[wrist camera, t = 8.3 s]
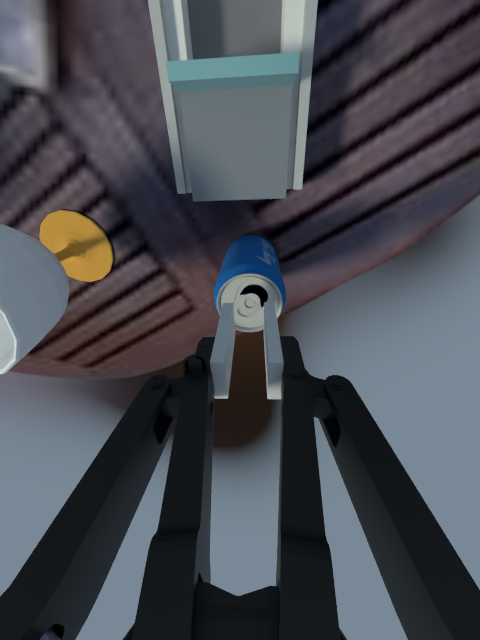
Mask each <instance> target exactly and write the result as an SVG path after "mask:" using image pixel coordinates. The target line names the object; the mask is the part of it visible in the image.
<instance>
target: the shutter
mask: <svg viewBox="0 0 480 640" xmlns="http://www.w3.org/2000/svg"><path fill="white" fill-rule="evenodd" d="M298 62H299V52H293V53H279V54H265V55H251V56H237V57H223V58H209V59H195V60H181V61H167V62H166V67H167V74H168V81H169V82H170V83H171V84H172V85H173V86H174V87H175V88H176V89H177V90H178V91H179V93H180V101H181V109H182V117H183V125H184V133H185V141H186V149H187V157H188V165H189V173H190V181H191V189H192V197H193V202H195V201H223V200H250V199H278V198H286V186H287V168H288V150H289V132H290V113H291V95H292V84H293V82H294V80H295V78H296V76H297V74H298Z"/></svg>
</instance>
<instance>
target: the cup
mask: <svg viewBox="0 0 480 640" xmlns="http://www.w3.org/2000/svg"><path fill="white" fill-rule="evenodd" d="M40 240H41V242H40V241H39V240H37V239H35V238H33V237H31V236H29V235H27V234H24V233H22V232H20V231H18V230H16V229H13V228H11V227H8V226H6V225H3V224H0V374H3V373H6V372H7V371H8V370H9V369H11V368H12V367H13V366H14V365H15V364H16V363H17V362H18V361H19V360H21V359H22V358H23V357H24V356H25V355H26V354H27V353H28V352H29V351H30V350H31V349H32V348H33V347H34V346H35V345H37V344H38V343H39V342H40V341H41V340H42V339H43V337H44V336H45V335H46V334H47V333H48V332H49V331H50V330H51V329H52V328H53V327H54V326H55V325H56V323H57V322H58V321H59V320H60V318H61V317H62V315H63V313H64V312H65V310H66V307H67V302H68V296H69V282H68V279H67V275H68V276H70V277H72V278H75V279H77V280H81V281H89V282H92V281H96V280H100V279H103V278H104V277H105V276H106V275H107V274H108V273H109V272H110V271H111V268H112V264H113V260H114V258H113V252H112V246H111V244H110V242H109V240H108V238H107V237H106V235H105V233H104V231H103V230H102V229H100V228H99V227H98V226H97V225H96V224H95V223H94V222H93V221H92V220H91V219H89V218H87V217H85V216H84V215H82V214H80V213H78V212H74V211H67V210H59V211H56V212H53V213H50V214H48V215H47V216H46V218H45V219H44V220H43V222H42V223H41V227H40Z"/></svg>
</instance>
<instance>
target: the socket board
mask: <svg viewBox="0 0 480 640" xmlns="http://www.w3.org/2000/svg"><path fill="white" fill-rule="evenodd" d="M148 3H149V10H150V16H151V23H152V29H153V36H154V42H155V49H156V55H157V62H158V69H159V75H160V82H161V88H162V95H163V101H164V108H165V114H166V121H167V127H168V134H169V140H170V147H171V154H172V160H173V167H174V173H175V180H176V186H177V193H178V194H186V193H192V189H191V181H190V173H189V165H188V157H187V149H186V141H185V133H184V125H183V117H182V109H181V101H180V93H179V91H178V90H177V89H176V88H175V87H174V86H173V85H172V84H171V83H170V82H169V81H168V74H167V67H166V62H167V61H181V60H195V59H209V58H223V57H237V56H251V55H265V54H279V53H293V52H299V62H298V74H297V76H296V78H295V80H294V82H293V84H292V95H291V113H290V132H289V150H288V168H287V186H286V189H302V182H303V170H304V158H305V146H306V135H307V123H308V111H309V99H310V87H311V75H312V63H313V51H314V40H315V28H316V16H317V4H318V0H148Z"/></svg>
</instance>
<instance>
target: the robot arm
mask: <svg viewBox="0 0 480 640" xmlns="http://www.w3.org/2000/svg"><path fill="white" fill-rule="evenodd" d="M234 339H235V321H234V305H233V303H223V306H222V310H221V315H220V319H219V324H218V328H217V332H216V337H203V338H202V339H201V340H200V341H199V343H198V346H197V350H196V353H195V355H191V356H189V357H187V358H186V359H184V361H183V363H182V366H183V370H184V374H185V375H184V376H182V377H180V378H176V379H172V380H169V378H168V377H167V376H164V375H157V376H154V377H152V378H150V379H148V380H147V382H146V383H145V384H144V386H143V387H142V389H141V390H140V392H139V393H138V395H137V396H136V398H135V399H134V401H133V402H132V404H131V405H130V407H129V408H128V410H127V411H126V413H125V414H124V416H123V417H122V419H121V420H120V422H119V423H118V425H117V426H116V428H115V429H114V431H113V432H112V434H111V435H110V437H109V438H108V440H107V441H106V443H105V444H104V446H103V447H102V449H101V450H100V452H99V453H98V455H97V456H96V458H95V459H94V461H93V462H92V464H91V465H90V467H89V468H88V470H87V471H86V473H85V474H84V476H83V477H82V479H81V480H80V482H79V483H78V485H77V486H76V488H75V489H74V491H73V492H72V494H71V495H70V497H69V498H68V500H67V501H66V503H65V504H64V506H63V507H62V509H61V510H60V512H59V513H58V515H57V516H56V518H55V519H54V521H53V522H52V524H51V525H50V527H49V528H48V530H47V531H46V533H45V534H44V536H43V537H42V539H41V540H40V542H39V543H38V545H37V547H36V548H35V549H34V551H33V552H32V554H31V555H30V557H29V558H28V560H27V561H26V563H25V564H24V566H23V567H22V569H21V570H20V572H19V573H18V575H17V576H16V578H15V579H14V581H13V582H12V584H11V585H10V587H9V588H8V589H7V590H6V591H5V592H4V593H3V594H2V595H1V596H0V640H75V639H76V637H77V635H78V634H79V632H80V630H81V628H82V626H83V625H84V623H85V621H86V619H87V618H88V616H89V614H90V611H91V609H92V607H93V605H94V603H95V601H96V599H97V597H98V595H99V593H100V591H101V589H102V586H103V584H104V582H105V579H106V577H107V575H108V573H109V570H110V568H111V566H112V563H113V562H114V559H115V557H116V555H117V553H118V550H119V548H120V546H121V544H122V541H123V539H124V537H125V535H126V532H127V530H128V528H129V526H130V524H131V521H132V519H133V517H134V515H135V512H136V510H137V508H138V506H139V503H140V501H141V499H142V497H143V494H144V492H145V490H146V488H147V485H148V483H149V481H150V479H151V476H152V474H153V472H154V470H155V467H156V465H157V463H158V461H159V458H160V456H161V454H162V452H163V450H164V447H165V445H166V442H167V441H168V438H169V436H170V434H171V432H172V429H173V427H174V425H175V423H176V427H175V433H174V439H173V445H172V451H171V457H170V463H169V468H168V474H167V480H166V485H165V491H164V497H163V503H162V509H161V514H160V520H159V525H158V530H157V532H156V534H155V535H154V536H153V538H152V540H151V543H150V547H149V551H148V556H147V561H146V567H145V572H144V577H143V582H142V588H141V593H140V598H139V604H138V609H137V614H136V619H135V623H134V625H133V626H132V628H131V629H130V630H129V632H128V633H127V635H126V636H125V637H124V638H123V640H347V639H346V637H345V636H344V634H343V633H342V631H341V630H340V628H339V623H338V614H337V605H336V597H335V587H334V578H333V568H332V560H331V553H330V548H329V544H328V542H327V540H326V536H325V527H324V517H323V507H322V497H321V487H320V477H319V468H318V457H317V448H316V437H315V427H314V418H313V417H317V418H319V421H320V424H321V426H322V428H323V431H324V433H325V436H326V439H327V441H328V443H329V446H330V448H331V451H332V453H333V456H334V458H335V461H336V463H337V466H338V468H339V471H340V473H341V476H342V478H343V481H344V483H345V486H346V488H347V491H348V493H349V496H350V498H351V501H352V503H353V506H354V508H355V511H356V513H357V516H358V518H359V521H360V523H361V525H362V528H363V531H364V533H365V536H366V538H367V541H368V543H369V546H370V548H371V551H372V553H373V556H374V558H375V561H376V563H377V565H378V568H379V571H380V573H381V576H382V578H383V581H384V583H385V586H386V588H387V591H388V593H389V596H390V598H391V601H392V603H393V606H394V608H395V611H396V613H397V615H398V618H399V620H400V622H401V625H402V627H403V629H404V631H405V634H406V636H407V638H408V640H480V590H479V588H478V587H477V585H476V583H475V582H474V580H473V579H472V577H471V575H470V574H469V572H468V571H467V569H466V567H465V566H464V564H463V563H462V561H461V559H460V558H459V556H458V554H457V553H456V551H455V550H454V548H453V546H452V545H451V543H450V542H449V540H448V538H447V537H446V535H445V534H444V532H443V530H442V529H441V527H440V525H439V524H438V522H437V521H436V519H435V517H434V516H433V514H432V512H431V511H430V509H429V508H428V506H427V504H426V503H425V501H424V500H423V498H422V496H421V495H420V493H419V492H418V490H417V489H416V487H415V485H414V483H413V482H412V480H411V479H410V477H409V475H408V474H407V472H406V471H405V469H404V467H403V466H402V464H401V463H400V461H399V459H398V458H397V456H396V455H395V453H394V452H393V450H392V448H391V447H390V445H389V443H388V442H387V440H386V438H385V437H384V435H383V433H382V432H381V430H380V429H379V427H378V425H377V424H376V422H375V421H374V419H373V418H372V416H371V414H370V412H369V411H368V409H367V408H366V406H365V404H364V403H363V401H362V400H361V398H360V397H359V395H358V393H357V392H356V390H355V388H354V387H353V385H352V383H351V382H350V381H349V380H348V379H346V378H344V377H342V376H338V375H332V376H329V377H327V378H326V380H323V379H319V378H315V377H313V376H311V375H310V374H309V373H308V371H306V369H305V368H304V363H303V359H302V355H301V352H300V348H299V343H298V341H297V340H296V339H295V338H294V337H293V336H279V329H278V323H277V316H276V309H275V302H264V345H265V363H266V380H267V397H268V399H281V396H282V407H281V442H280V477H279V513H278V548H277V573H276V586H269V587H266V588H263V589H260V590H257V591H254V592H251V593H247V594H244V595H242V596H235V595H233V594H231V593H229V592H227V591H224V590H222V589H220V588H218V587H216V586H214V585H211V584H210V578H211V577H210V519H211V482H212V447H213V446H212V445H213V412H214V404H213V395H214V396H215V398H225V399H226V398H228V392H229V384H230V375H231V366H232V357H233V348H234ZM176 420H177V422H176Z"/></svg>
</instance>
